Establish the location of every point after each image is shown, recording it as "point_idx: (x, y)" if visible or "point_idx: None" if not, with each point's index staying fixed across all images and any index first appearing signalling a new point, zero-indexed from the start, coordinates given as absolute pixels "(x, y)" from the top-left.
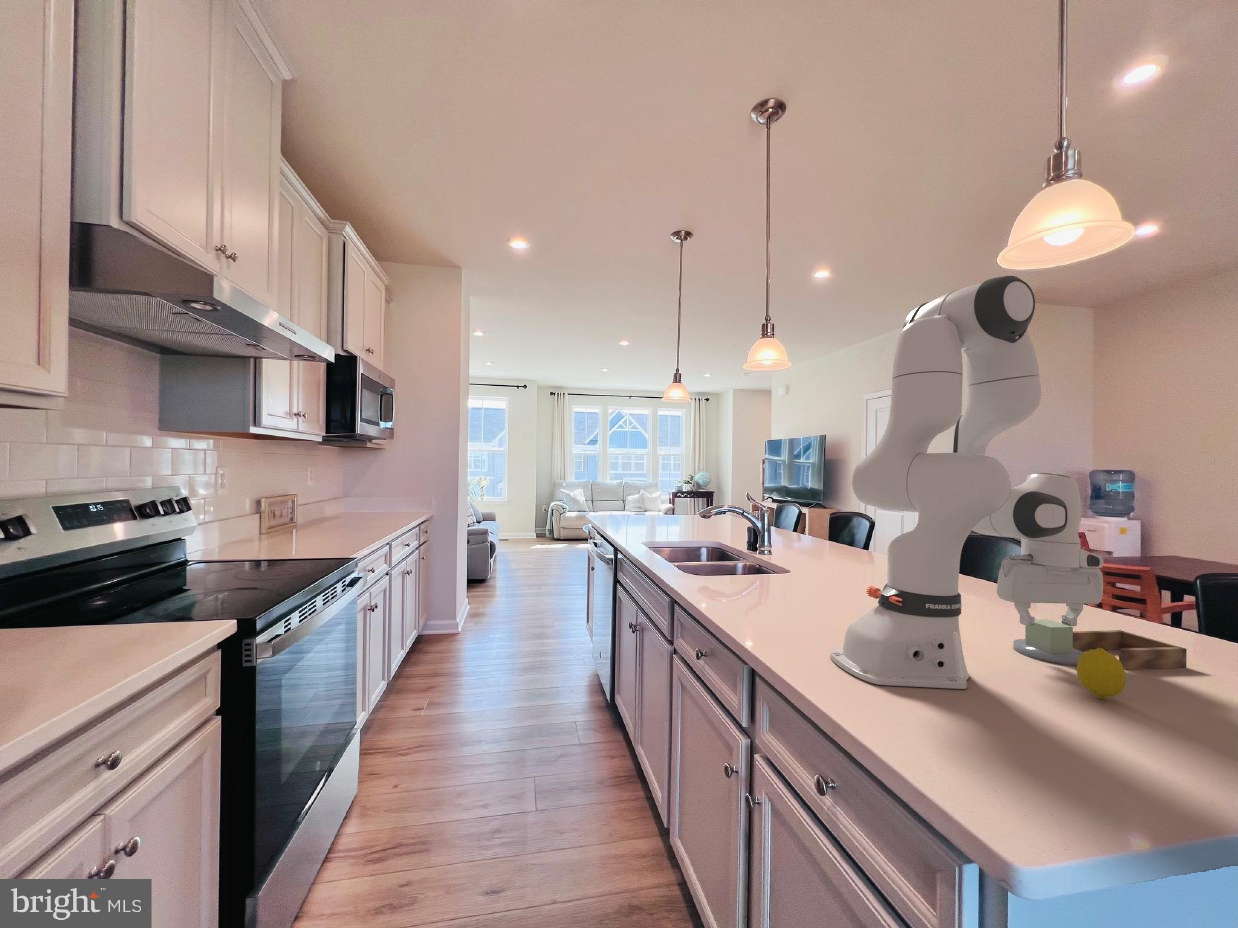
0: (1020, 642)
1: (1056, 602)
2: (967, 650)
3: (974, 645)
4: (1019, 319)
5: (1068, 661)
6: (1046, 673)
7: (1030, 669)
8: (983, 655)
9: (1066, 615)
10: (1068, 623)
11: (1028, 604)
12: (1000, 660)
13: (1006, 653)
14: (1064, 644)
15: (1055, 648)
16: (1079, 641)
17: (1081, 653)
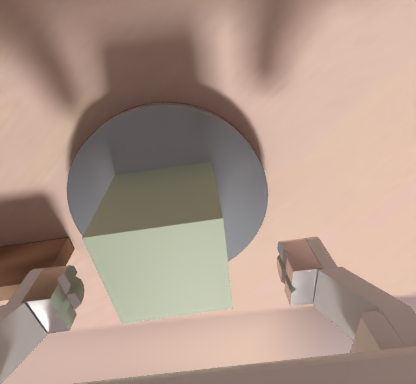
0: None
1: (162, 379)
2: (405, 206)
3: (340, 243)
4: None
5: (189, 106)
6: (364, 5)
7: (382, 48)
8: (402, 171)
9: (44, 328)
10: (69, 277)
11: (392, 338)
12: (395, 132)
13: (307, 193)
14: (146, 184)
15: (189, 171)
16: (15, 262)
17: (85, 169)
